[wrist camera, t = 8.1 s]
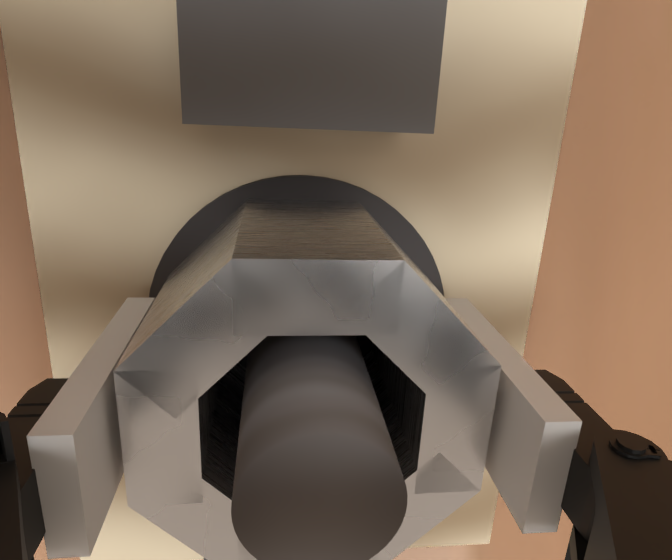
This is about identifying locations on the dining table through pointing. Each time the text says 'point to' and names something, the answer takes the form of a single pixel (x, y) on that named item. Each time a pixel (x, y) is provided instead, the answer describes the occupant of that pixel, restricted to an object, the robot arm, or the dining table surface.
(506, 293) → the shaft stand
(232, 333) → the hub
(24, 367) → the dining table surface
